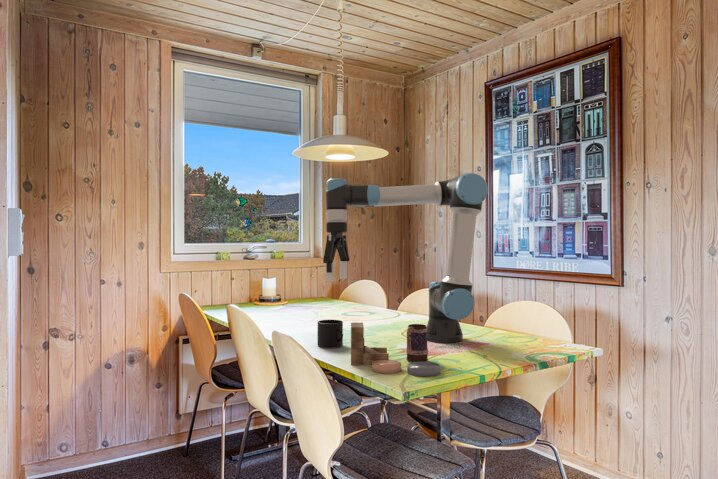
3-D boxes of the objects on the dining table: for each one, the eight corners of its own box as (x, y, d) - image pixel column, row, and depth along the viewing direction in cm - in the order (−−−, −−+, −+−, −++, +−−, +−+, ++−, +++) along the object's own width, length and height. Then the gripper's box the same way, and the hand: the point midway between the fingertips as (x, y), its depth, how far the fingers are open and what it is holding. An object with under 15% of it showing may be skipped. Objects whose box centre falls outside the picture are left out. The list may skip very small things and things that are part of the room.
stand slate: (437, 367, 156) (437, 361, 156) (443, 376, 146) (443, 370, 146) (405, 367, 156) (405, 361, 156) (409, 376, 146) (409, 370, 146)
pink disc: (399, 365, 159) (399, 359, 159) (402, 373, 150) (402, 366, 150) (371, 365, 158) (371, 359, 158) (372, 373, 149) (372, 366, 149)
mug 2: (412, 357, 170) (412, 321, 170) (431, 359, 166) (431, 323, 166) (397, 363, 162) (397, 326, 162) (417, 366, 158) (417, 328, 158)
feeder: (386, 358, 168) (386, 322, 168) (388, 365, 159) (388, 327, 159) (350, 358, 168) (351, 322, 168) (350, 365, 159) (351, 327, 159)
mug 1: (332, 350, 179) (332, 325, 179) (312, 345, 188) (312, 321, 188) (352, 347, 185) (352, 322, 185) (332, 341, 194) (332, 318, 194)
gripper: (338, 222, 195) (339, 277, 195) (313, 220, 171) (313, 283, 171) (357, 222, 192) (357, 277, 192) (334, 220, 169) (334, 283, 169)
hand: (336, 280), depth 182 cm, fingers open, 13 cm apart
